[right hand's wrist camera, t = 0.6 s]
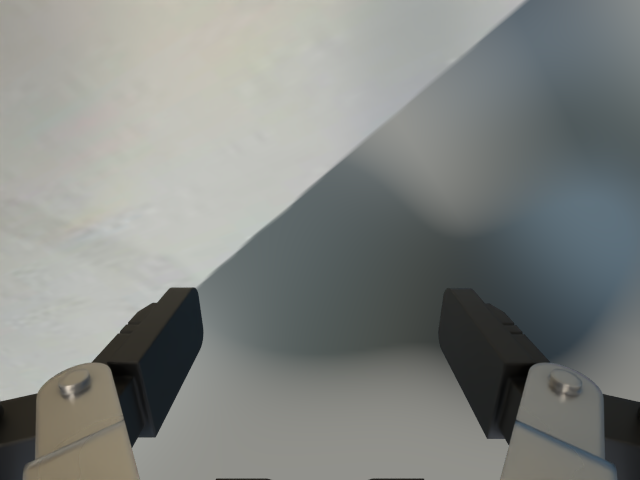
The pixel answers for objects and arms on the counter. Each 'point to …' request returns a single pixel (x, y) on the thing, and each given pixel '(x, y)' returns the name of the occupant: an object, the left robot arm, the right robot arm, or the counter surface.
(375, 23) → the counter surface
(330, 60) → the counter surface
